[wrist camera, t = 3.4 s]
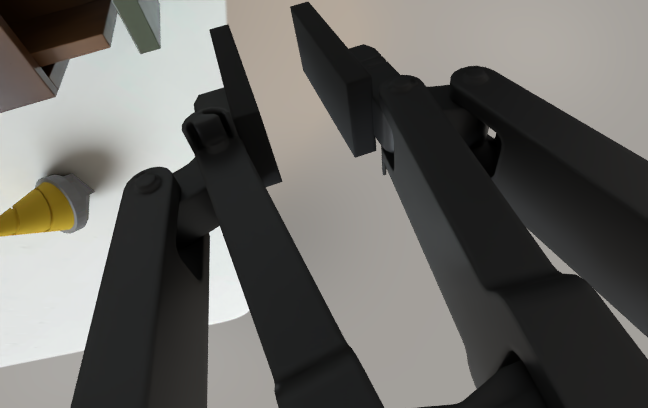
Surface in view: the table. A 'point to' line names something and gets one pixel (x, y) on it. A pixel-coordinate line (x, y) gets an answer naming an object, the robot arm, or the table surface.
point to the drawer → (79, 25)
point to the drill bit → (49, 207)
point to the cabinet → (24, 73)
